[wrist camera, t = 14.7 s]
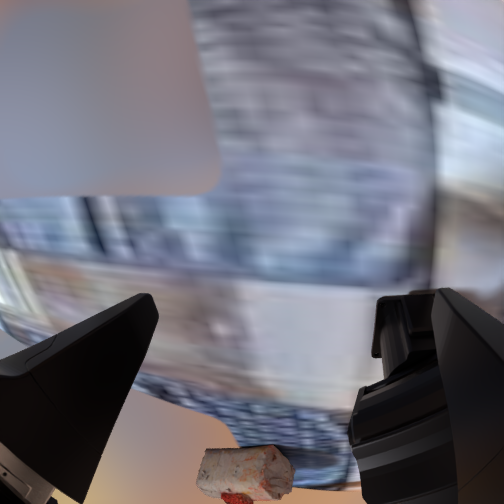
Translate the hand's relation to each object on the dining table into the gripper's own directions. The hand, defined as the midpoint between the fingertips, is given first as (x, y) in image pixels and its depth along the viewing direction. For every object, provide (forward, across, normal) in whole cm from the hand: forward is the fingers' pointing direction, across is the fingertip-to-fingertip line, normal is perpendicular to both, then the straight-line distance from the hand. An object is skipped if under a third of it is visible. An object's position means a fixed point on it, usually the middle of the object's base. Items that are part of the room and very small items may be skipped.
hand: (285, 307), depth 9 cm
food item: (+13, +11, +39) cm, 43 cm away
